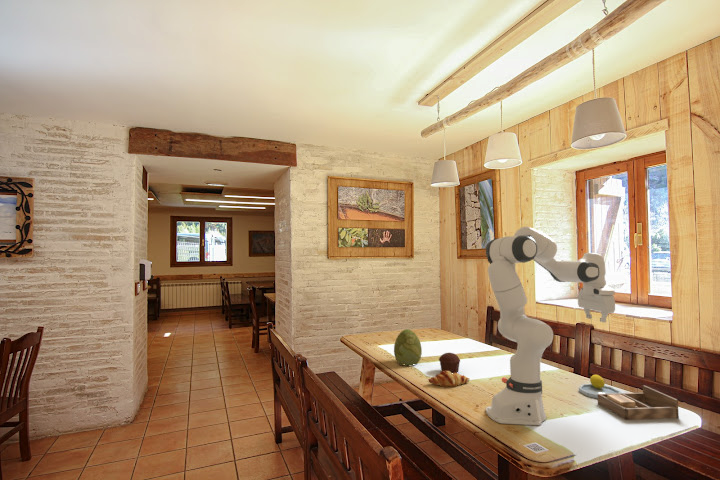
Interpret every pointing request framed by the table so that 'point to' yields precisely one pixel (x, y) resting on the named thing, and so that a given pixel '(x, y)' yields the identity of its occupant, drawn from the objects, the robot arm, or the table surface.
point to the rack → (643, 405)
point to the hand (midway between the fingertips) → (595, 320)
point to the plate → (596, 390)
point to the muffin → (449, 362)
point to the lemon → (597, 381)
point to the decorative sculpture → (407, 348)
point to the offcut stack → (622, 401)
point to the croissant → (448, 379)
